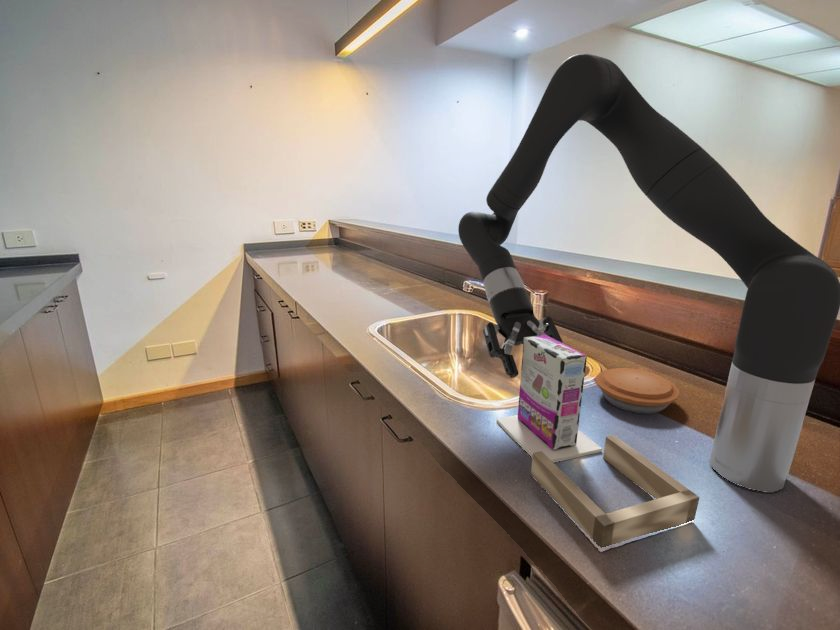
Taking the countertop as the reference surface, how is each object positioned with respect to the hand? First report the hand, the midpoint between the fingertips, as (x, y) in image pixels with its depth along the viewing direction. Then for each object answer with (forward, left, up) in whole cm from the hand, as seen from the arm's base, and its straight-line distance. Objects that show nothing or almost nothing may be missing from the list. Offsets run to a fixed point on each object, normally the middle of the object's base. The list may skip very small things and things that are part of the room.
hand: (535, 373), depth 75 cm
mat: (0, +4, -10) cm, 11 cm away
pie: (-25, -1, -11) cm, 27 cm away
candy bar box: (0, +4, -10) cm, 11 cm away
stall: (+1, +20, -10) cm, 22 cm away
